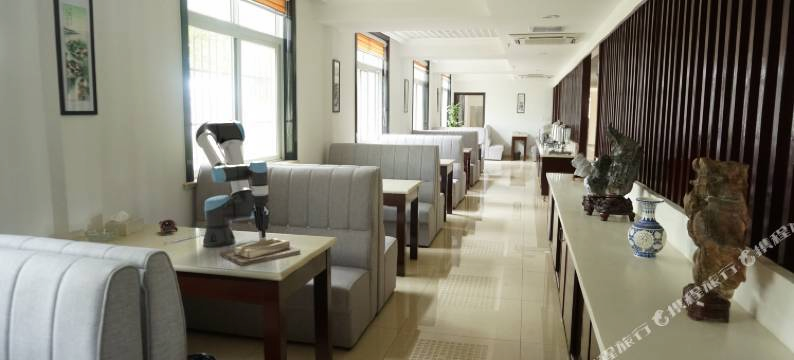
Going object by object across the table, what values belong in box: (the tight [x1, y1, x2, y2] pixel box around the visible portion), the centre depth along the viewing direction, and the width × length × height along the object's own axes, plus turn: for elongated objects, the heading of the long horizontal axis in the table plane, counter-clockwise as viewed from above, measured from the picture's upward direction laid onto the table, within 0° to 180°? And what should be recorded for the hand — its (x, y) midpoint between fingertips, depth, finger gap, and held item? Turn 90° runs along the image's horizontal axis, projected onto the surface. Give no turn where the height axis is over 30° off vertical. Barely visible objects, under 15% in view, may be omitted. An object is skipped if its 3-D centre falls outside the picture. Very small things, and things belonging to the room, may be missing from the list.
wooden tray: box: [233, 237, 291, 258], centre depth 250 cm, size 12×22×3 cm, turn 142°
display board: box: [218, 246, 301, 267], centre depth 251 cm, size 24×28×2 cm
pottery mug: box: [158, 218, 179, 235], centre depth 300 cm, size 12×10×8 cm
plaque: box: [169, 232, 205, 244], centre depth 286 cm, size 33×10×1 cm, turn 149°
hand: (262, 243), depth 259 cm, fingers closed
